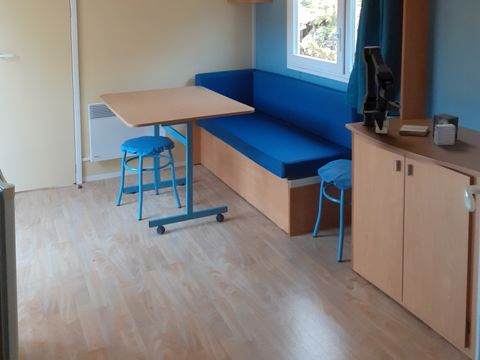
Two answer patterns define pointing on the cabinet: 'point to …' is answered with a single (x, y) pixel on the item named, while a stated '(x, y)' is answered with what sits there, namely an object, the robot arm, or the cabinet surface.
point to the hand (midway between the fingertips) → (382, 128)
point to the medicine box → (444, 134)
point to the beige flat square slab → (413, 130)
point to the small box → (445, 121)
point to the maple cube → (385, 127)
